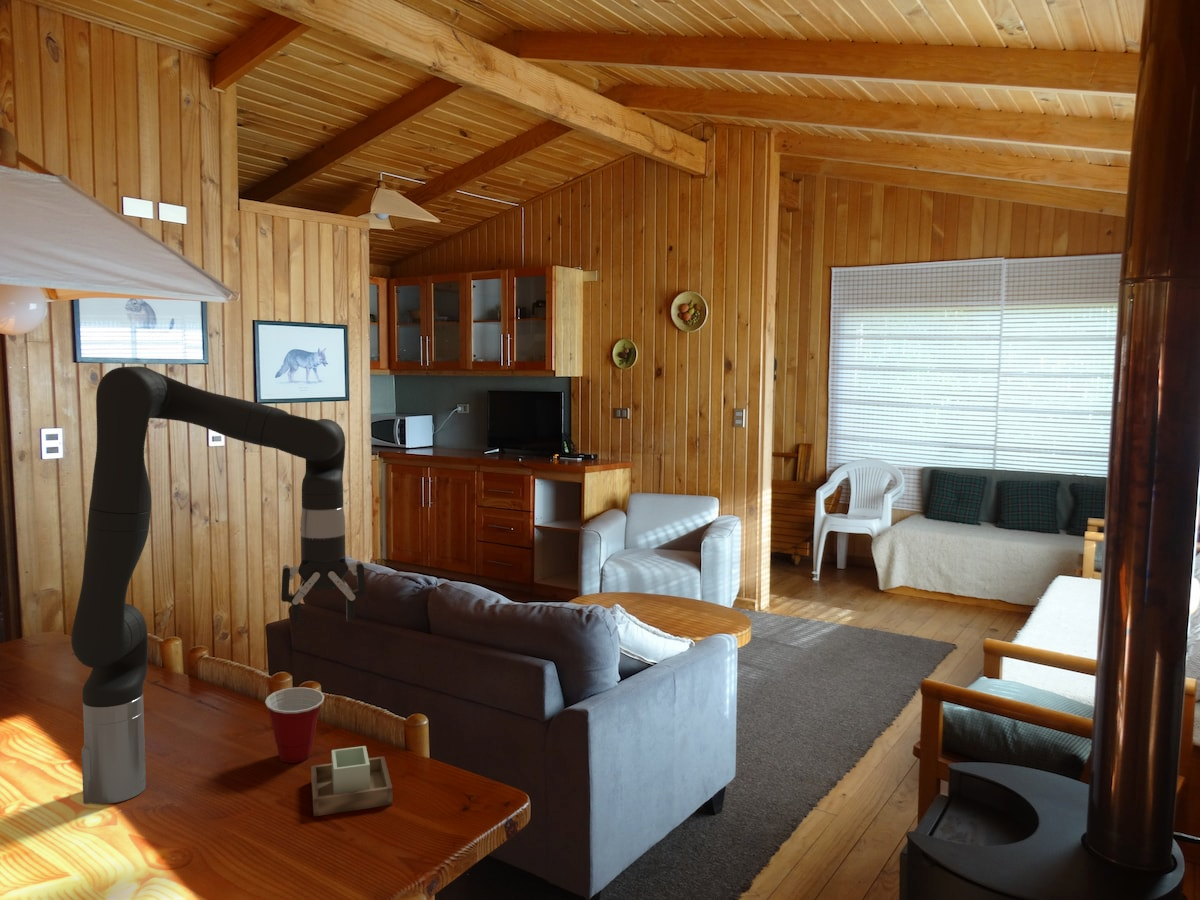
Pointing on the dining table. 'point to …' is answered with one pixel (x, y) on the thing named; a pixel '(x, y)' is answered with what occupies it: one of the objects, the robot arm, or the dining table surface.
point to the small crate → (350, 770)
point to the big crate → (353, 800)
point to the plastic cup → (294, 721)
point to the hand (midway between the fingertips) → (324, 621)
